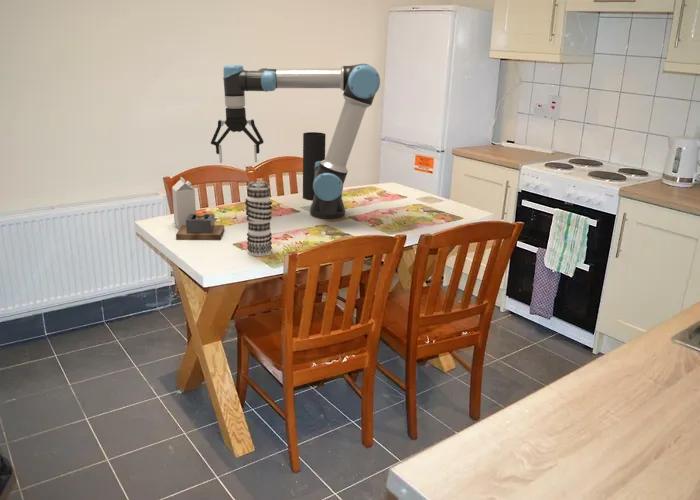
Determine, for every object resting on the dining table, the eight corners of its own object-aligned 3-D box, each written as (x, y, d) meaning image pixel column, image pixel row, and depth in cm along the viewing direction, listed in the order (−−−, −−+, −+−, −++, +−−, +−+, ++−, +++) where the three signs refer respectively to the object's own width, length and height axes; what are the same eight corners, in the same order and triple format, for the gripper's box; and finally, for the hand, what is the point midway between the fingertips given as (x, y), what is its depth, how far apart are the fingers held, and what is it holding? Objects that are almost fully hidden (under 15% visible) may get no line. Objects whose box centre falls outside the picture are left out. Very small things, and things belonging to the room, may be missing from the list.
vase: (302, 194, 292) (302, 132, 282) (323, 194, 293) (324, 132, 283) (303, 200, 282) (303, 135, 272) (324, 200, 283) (326, 135, 273)
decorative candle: (241, 254, 211) (239, 183, 203) (254, 246, 219) (253, 178, 211) (264, 258, 208) (263, 187, 200) (277, 250, 216) (276, 181, 208)
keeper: (224, 230, 236) (223, 210, 233) (220, 240, 224) (219, 219, 222) (182, 229, 234) (181, 209, 232) (176, 239, 223) (174, 218, 221)
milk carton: (178, 229, 235) (175, 181, 229) (174, 224, 241) (171, 177, 235) (196, 227, 238) (194, 179, 232) (192, 222, 244) (189, 175, 238)
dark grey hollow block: (214, 226, 233) (214, 213, 232) (211, 233, 225) (210, 220, 223) (190, 226, 233) (190, 213, 231) (186, 233, 224) (185, 220, 223)
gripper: (268, 105, 237) (270, 159, 245) (203, 106, 235) (207, 160, 242) (268, 107, 230) (270, 163, 238) (201, 108, 228) (205, 164, 235)
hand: (238, 162), depth 240 cm, fingers open, 13 cm apart
